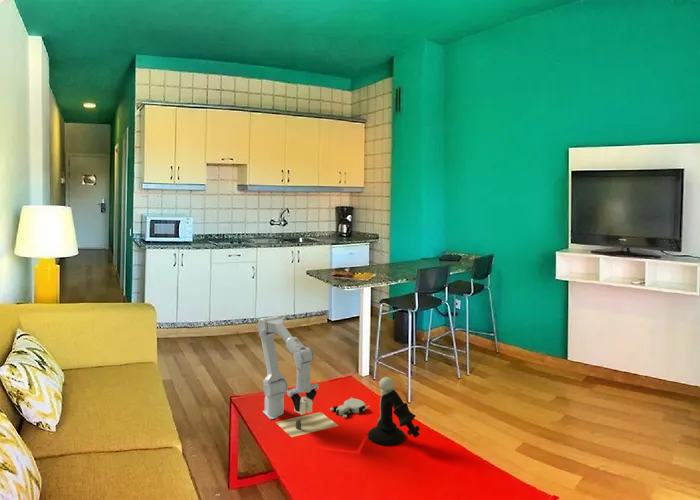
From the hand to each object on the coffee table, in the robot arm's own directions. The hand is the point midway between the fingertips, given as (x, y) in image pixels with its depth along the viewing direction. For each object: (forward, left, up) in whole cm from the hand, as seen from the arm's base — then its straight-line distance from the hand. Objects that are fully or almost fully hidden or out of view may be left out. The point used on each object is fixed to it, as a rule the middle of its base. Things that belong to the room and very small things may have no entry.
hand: (303, 409), depth 219 cm
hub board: (-2, +3, -9) cm, 10 cm away
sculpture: (+27, +28, -9) cm, 40 cm away
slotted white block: (0, 0, -1) cm, 1 cm away
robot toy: (-5, +26, -9) cm, 28 cm away
